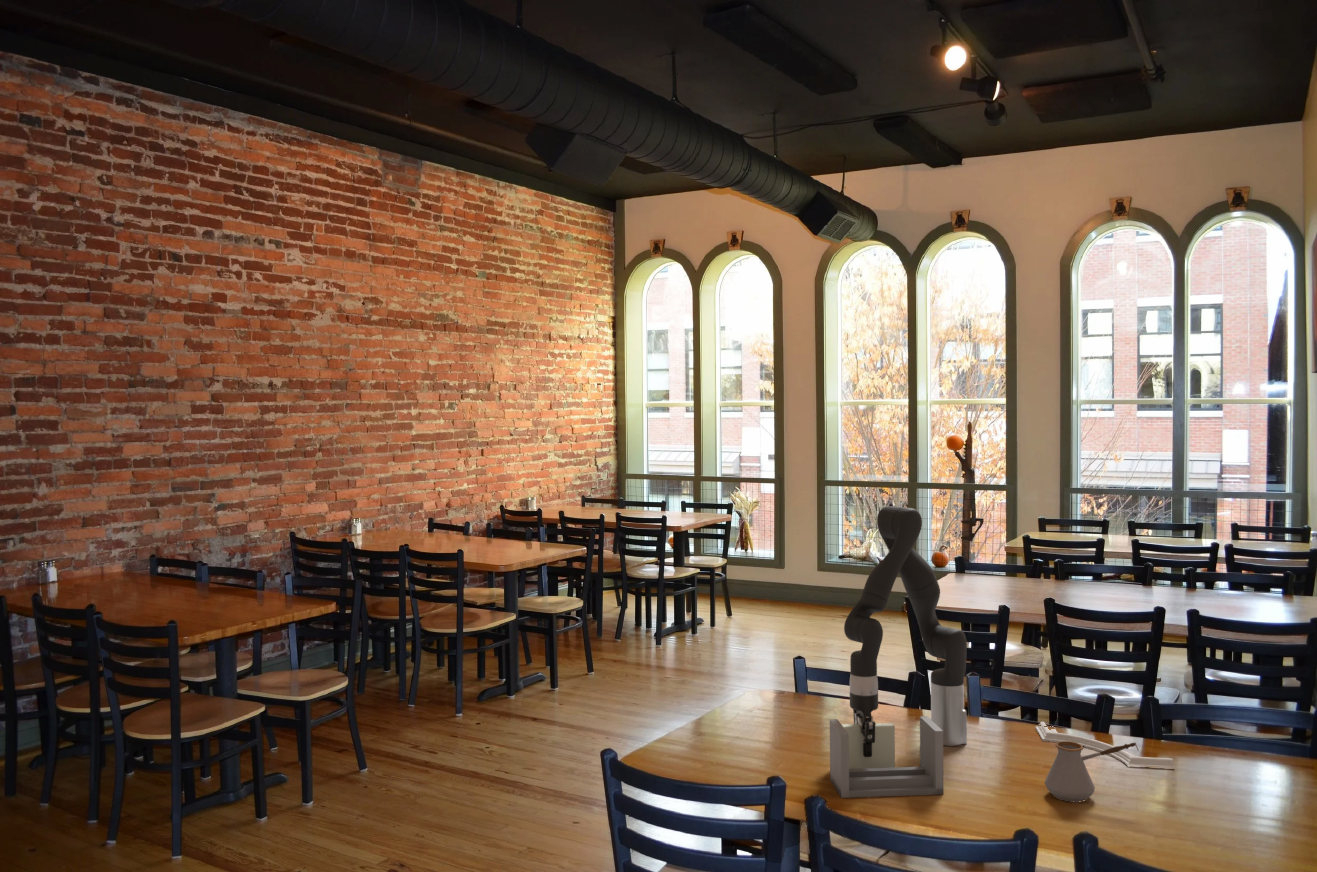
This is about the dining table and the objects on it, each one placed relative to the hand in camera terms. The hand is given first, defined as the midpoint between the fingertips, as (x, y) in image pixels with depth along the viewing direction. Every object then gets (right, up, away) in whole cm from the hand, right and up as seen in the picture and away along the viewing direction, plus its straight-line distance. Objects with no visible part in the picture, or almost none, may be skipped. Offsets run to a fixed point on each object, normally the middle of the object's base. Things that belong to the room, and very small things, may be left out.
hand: (864, 752), depth 262 cm
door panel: (0, -5, 0) cm, 5 cm away
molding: (+70, -4, +14) cm, 72 cm away
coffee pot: (+51, -5, -22) cm, 56 cm away
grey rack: (+3, -5, -13) cm, 14 cm away
